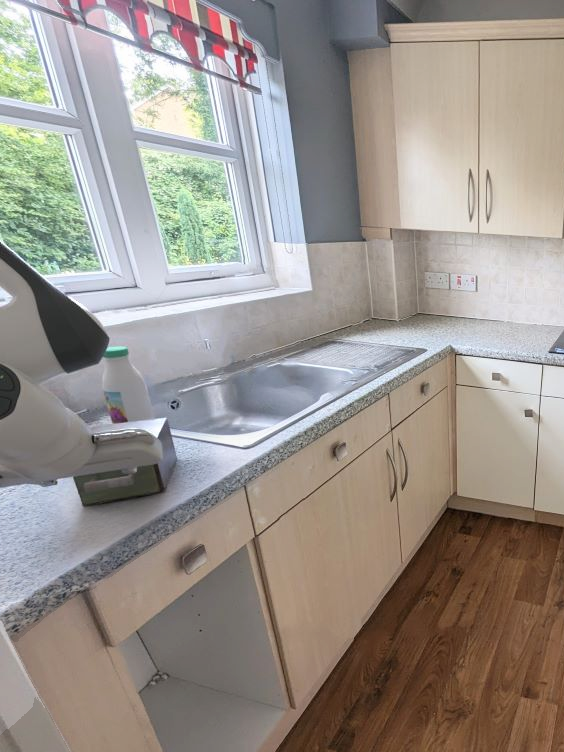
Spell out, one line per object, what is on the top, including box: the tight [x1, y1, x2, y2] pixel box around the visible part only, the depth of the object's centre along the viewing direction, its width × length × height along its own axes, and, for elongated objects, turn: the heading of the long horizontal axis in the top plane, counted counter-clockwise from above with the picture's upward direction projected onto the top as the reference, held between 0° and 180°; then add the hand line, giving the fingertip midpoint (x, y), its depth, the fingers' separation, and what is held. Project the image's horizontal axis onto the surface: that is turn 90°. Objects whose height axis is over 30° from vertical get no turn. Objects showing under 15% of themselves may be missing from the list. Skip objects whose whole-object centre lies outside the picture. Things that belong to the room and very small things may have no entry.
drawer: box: [74, 464, 160, 505], centre depth 83 cm, size 18×10×8 cm, turn 29°
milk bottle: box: [101, 346, 156, 424], centre depth 106 cm, size 8×8×20 cm
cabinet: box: [72, 417, 178, 507], centre depth 87 cm, size 15×12×10 cm
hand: (92, 474), depth 71 cm, fingers open, 8 cm apart
